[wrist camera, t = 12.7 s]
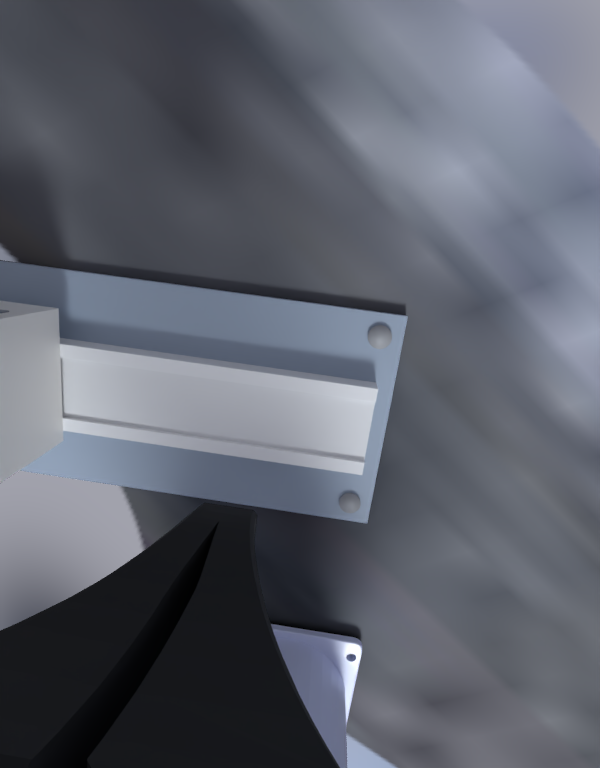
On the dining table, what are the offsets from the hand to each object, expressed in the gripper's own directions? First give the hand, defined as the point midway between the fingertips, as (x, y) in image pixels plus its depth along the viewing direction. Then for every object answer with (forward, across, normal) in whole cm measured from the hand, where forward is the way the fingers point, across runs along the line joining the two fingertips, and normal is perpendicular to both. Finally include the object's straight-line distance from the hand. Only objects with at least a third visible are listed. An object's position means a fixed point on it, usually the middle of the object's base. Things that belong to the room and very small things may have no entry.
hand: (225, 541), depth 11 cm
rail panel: (+10, +6, 0) cm, 12 cm away
